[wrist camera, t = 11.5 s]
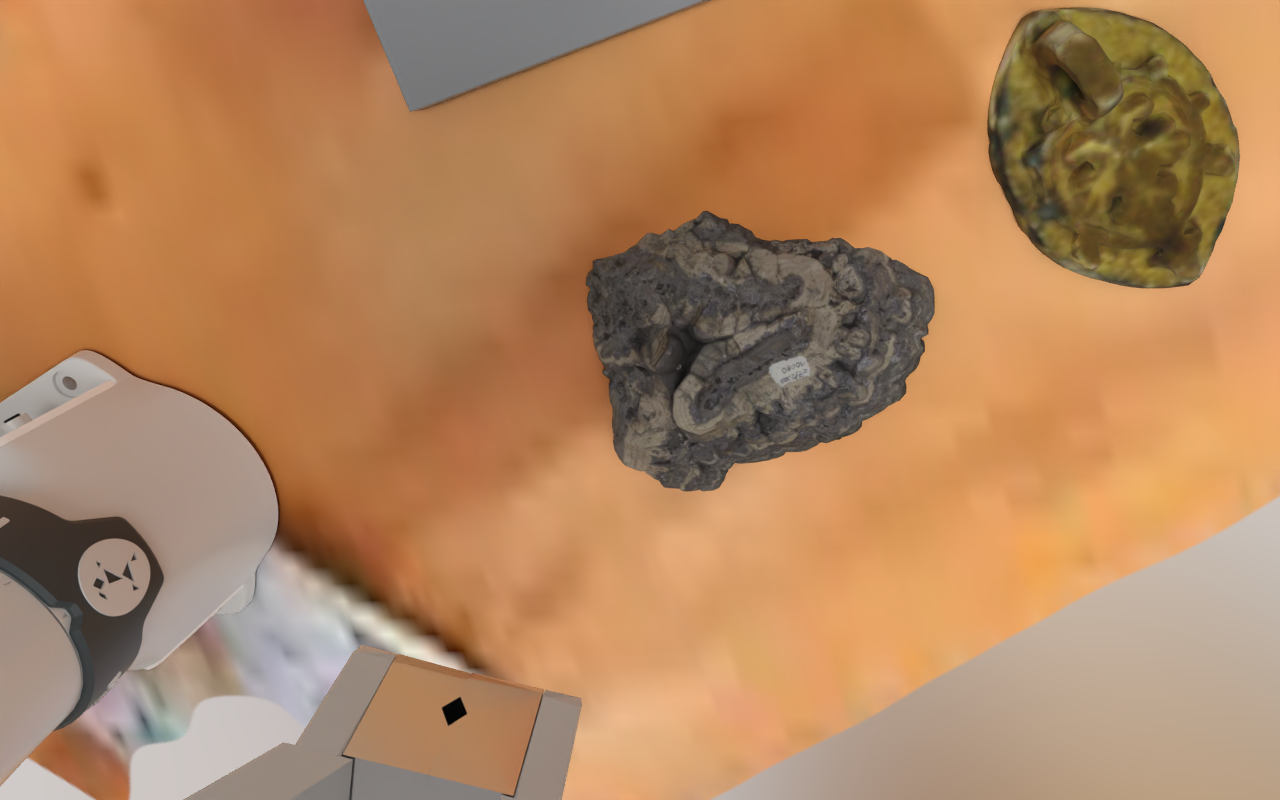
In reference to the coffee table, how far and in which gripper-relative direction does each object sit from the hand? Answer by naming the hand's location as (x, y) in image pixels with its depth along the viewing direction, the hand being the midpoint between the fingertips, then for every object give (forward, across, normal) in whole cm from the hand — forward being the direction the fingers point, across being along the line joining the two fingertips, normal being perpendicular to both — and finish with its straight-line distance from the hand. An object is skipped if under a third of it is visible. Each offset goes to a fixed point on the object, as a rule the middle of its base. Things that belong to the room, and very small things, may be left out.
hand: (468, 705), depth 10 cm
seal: (+32, -20, -8) cm, 38 cm away
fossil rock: (+32, -6, +4) cm, 33 cm away
